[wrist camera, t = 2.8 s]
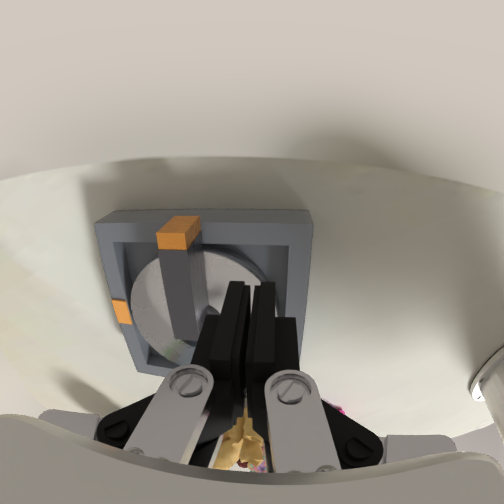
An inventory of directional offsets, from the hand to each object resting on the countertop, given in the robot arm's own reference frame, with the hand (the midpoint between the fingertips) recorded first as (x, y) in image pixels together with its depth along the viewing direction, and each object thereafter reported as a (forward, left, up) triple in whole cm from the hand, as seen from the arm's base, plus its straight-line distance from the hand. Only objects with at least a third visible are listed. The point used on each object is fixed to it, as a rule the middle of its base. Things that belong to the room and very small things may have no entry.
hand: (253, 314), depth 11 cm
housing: (+5, +7, -12) cm, 15 cm away
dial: (+5, +6, -10) cm, 13 cm away
